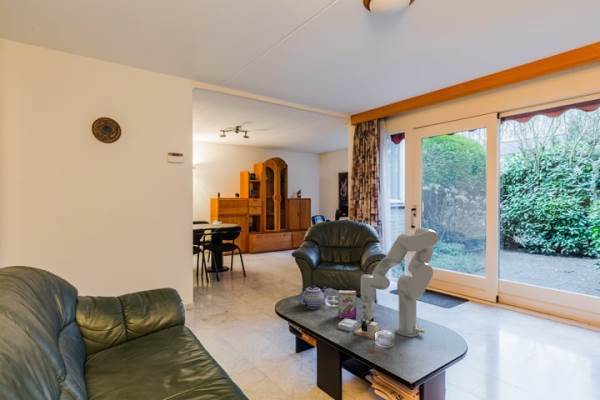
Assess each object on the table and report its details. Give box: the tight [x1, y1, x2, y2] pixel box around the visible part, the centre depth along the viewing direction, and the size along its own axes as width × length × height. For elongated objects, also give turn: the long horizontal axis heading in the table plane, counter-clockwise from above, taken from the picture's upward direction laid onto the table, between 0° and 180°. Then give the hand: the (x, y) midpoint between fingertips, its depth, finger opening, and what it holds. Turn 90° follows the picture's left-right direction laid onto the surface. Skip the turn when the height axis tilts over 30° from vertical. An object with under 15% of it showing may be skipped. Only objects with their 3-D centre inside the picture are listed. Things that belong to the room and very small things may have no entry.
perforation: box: [336, 328, 350, 334], centre depth 170 cm, size 8×1×1 cm, turn 56°
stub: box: [362, 320, 379, 336], centre depth 166 cm, size 8×4×6 cm, turn 56°
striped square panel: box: [337, 318, 359, 332], centre depth 176 cm, size 8×10×2 cm
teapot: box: [297, 284, 327, 310], centre depth 208 cm, size 25×15×15 cm, turn 124°
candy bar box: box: [338, 290, 357, 320], centre depth 189 cm, size 11×5×16 cm, turn 84°
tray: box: [352, 324, 383, 340], centre depth 167 cm, size 13×9×2 cm
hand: (367, 327), depth 167 cm, fingers open, 9 cm apart
